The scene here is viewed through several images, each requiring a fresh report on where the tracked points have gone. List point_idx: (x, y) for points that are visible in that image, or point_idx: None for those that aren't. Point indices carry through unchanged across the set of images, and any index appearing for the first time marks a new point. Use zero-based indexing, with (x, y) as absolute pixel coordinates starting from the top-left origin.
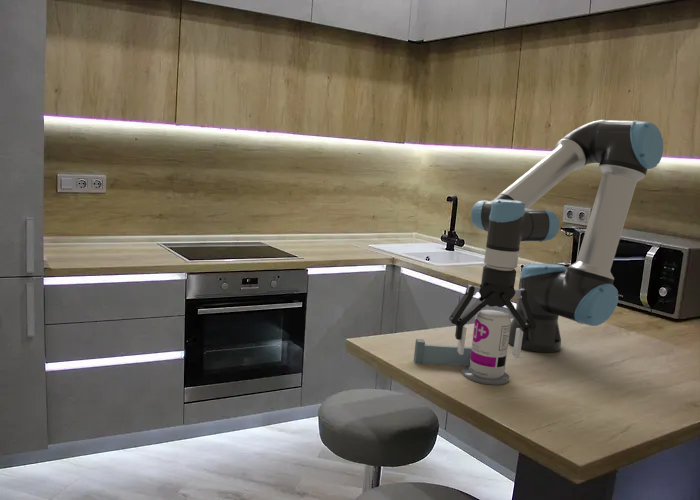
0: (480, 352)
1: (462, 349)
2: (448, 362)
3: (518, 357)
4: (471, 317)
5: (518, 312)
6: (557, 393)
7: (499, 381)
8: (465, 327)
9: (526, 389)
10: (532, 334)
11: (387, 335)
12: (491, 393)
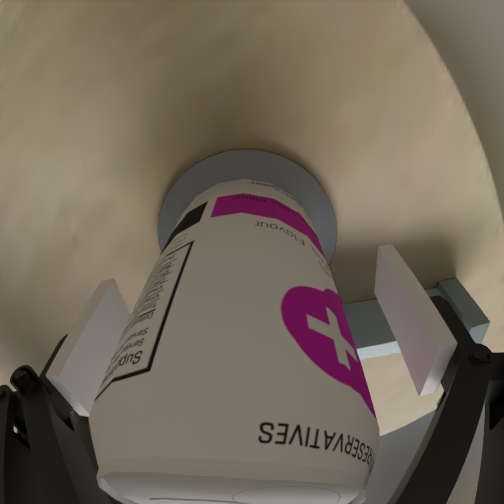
0: (304, 239)
1: (394, 258)
2: (364, 306)
3: (105, 281)
4: (440, 427)
5: None
6: (25, 160)
7: (199, 171)
8: (438, 356)
9: (105, 152)
10: None
11: (434, 408)
12: (247, 57)
